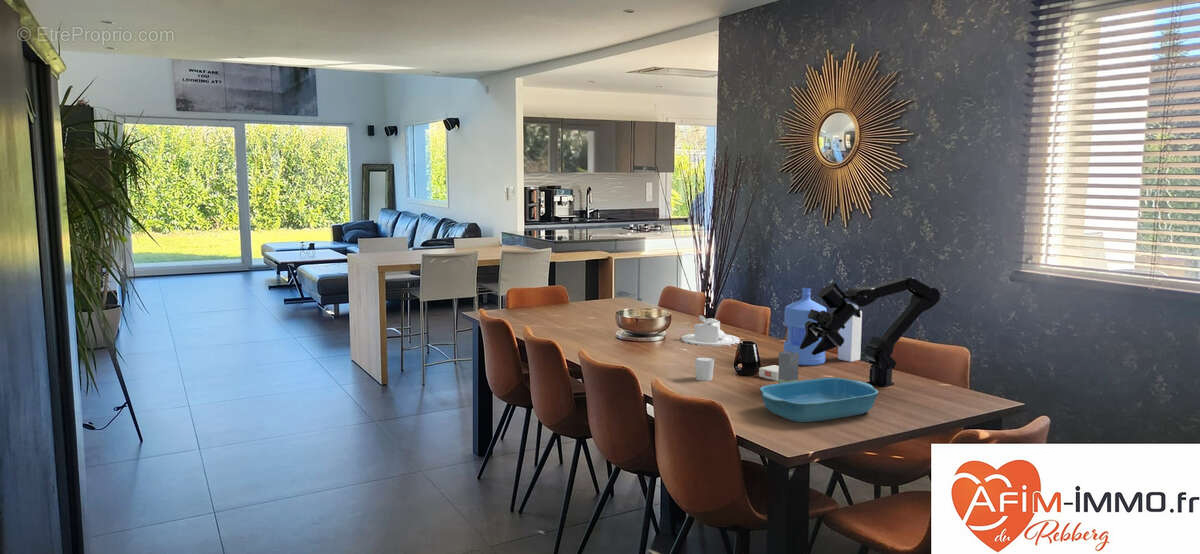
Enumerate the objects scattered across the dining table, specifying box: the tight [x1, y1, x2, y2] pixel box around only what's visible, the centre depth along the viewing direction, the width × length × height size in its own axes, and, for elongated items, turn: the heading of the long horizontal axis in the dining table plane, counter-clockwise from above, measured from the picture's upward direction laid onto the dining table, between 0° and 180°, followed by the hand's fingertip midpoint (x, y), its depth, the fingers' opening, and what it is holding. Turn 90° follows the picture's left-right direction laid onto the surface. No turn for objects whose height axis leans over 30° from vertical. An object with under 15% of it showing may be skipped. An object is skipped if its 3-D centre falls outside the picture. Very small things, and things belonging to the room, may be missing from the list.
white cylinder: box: [694, 356, 715, 382], centre depth 281 cm, size 7×7×7 cm
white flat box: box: [758, 364, 779, 382], centre depth 285 cm, size 8×8×3 cm
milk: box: [837, 304, 863, 363], centre depth 312 cm, size 6×6×22 cm
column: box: [777, 350, 799, 384], centre depth 268 cm, size 5×5×12 cm
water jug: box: [783, 287, 828, 367], centre depth 308 cm, size 16×16×28 cm
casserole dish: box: [759, 377, 879, 423], centre depth 242 cm, size 37×22×7 cm, turn 114°
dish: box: [681, 315, 741, 347], centre depth 350 cm, size 25×25×11 cm
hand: (806, 351), depth 269 cm, fingers open, 9 cm apart
